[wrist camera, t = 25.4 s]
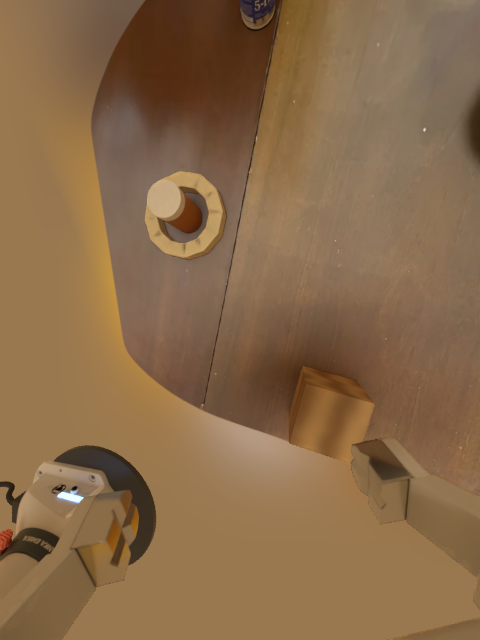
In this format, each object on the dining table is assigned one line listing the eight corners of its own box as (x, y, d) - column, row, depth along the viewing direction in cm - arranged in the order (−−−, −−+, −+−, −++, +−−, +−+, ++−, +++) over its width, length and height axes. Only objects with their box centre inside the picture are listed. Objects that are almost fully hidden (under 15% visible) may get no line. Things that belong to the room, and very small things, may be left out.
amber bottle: (181, 238, 44) (154, 224, 35) (171, 211, 44) (141, 190, 35) (207, 226, 43) (186, 207, 34) (196, 198, 43) (172, 172, 34)
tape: (147, 250, 46) (139, 247, 43) (160, 173, 44) (153, 166, 41) (215, 265, 43) (211, 263, 41) (233, 185, 41) (229, 178, 39)
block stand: (288, 413, 43) (288, 443, 34) (302, 365, 42) (305, 383, 33) (341, 429, 42) (355, 465, 33) (356, 380, 40) (375, 403, 32)
